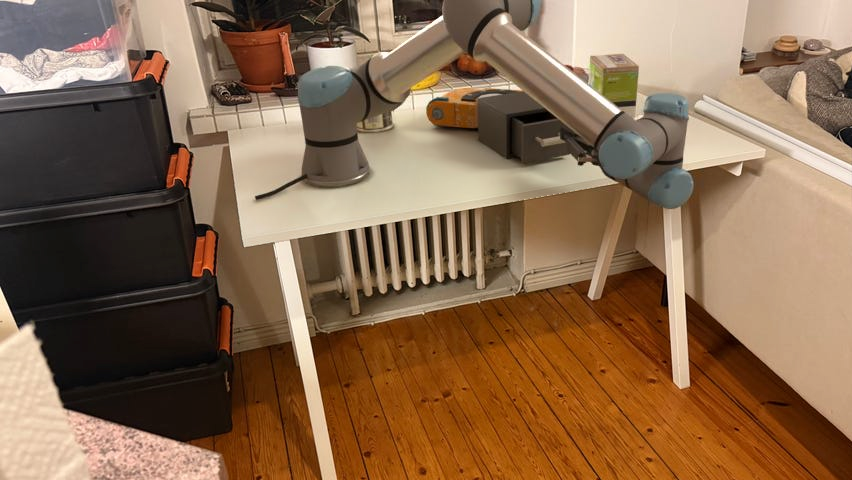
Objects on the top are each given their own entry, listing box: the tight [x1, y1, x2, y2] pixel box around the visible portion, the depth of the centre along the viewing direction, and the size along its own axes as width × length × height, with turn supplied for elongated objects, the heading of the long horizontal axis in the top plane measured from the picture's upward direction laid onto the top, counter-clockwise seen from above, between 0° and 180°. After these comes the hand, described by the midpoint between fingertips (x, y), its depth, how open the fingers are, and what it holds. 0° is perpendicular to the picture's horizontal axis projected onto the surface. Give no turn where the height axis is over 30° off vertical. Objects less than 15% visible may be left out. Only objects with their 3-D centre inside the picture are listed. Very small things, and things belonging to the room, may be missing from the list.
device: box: [425, 87, 523, 129], centre depth 191 cm, size 23×8×30 cm
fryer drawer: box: [510, 111, 571, 164], centre depth 165 cm, size 19×13×9 cm, turn 26°
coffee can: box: [357, 111, 394, 133], centre depth 188 cm, size 10×10×14 cm
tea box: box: [588, 53, 640, 119], centre depth 194 cm, size 15×10×15 cm, turn 6°
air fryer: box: [477, 91, 548, 159], centre depth 173 cm, size 16×14×11 cm
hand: (563, 132), depth 154 cm, fingers closed
